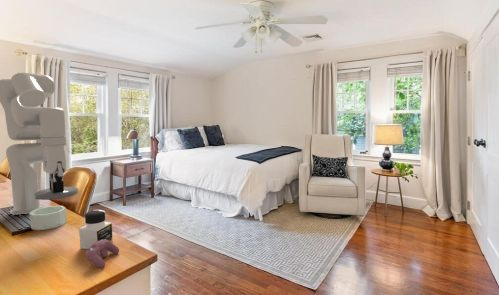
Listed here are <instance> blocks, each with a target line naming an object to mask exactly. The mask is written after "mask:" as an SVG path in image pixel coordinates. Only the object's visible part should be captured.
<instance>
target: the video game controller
mask: <svg viewBox="0 0 499 295" xmlns="http://www.w3.org/2000/svg"><path fill="white" fill-rule="evenodd" d="M108 252H110V253H112V254H115V253H117V254H118V253H120V249H119V247H118V246H117V245H116V244H114V243H113V242H110V241H109V240H106V239H104V240H99V241H97V242H95V243H94V244H92V245H91V247H90V248H89V249H86V252H85V258H86V260H87V261H88V262H90V263H91V264H93V265H94V266H95V267H98V268H104V267H105V266H106V263H105V261H104V260H103V258H106V257H107V256H108V255H109V253H108Z"/></svg>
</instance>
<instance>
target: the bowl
mask: <svg viewBox="0 0 499 295" xmlns="http://www.w3.org/2000/svg"><path fill="white" fill-rule="evenodd" d="M28 215H29V224H30V228H31V230H33V231H45V230H46V231H47V230H52V229H56V228H59V227H61V226H63V225H65V224H66V223H67V219H68V218H67V208H66V207H65V206H64V205H50V206H44V207H43V208H38V209H36V210H34V211H32V212H29V214H28Z"/></svg>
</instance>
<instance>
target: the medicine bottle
mask: <svg viewBox="0 0 499 295" xmlns="http://www.w3.org/2000/svg"><path fill="white" fill-rule="evenodd" d="M84 219H85V220H84V222H85V225H84V226H81V227H79V228H78V230H79V231H78V233H79V249H84V250H88V249H89V248H90V247H91V245H92V244H94V243H95V242H97V241H99V240H104V239H106V240H109V241H110V242H111V243H113V240H114V239H113V226H112V225H113V224H112V222H109V221H106V211H105V210H102V209H93V210H90V211H87V212H86V213H85V214H84Z"/></svg>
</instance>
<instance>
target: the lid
mask: <svg viewBox="0 0 499 295" xmlns="http://www.w3.org/2000/svg"><path fill="white" fill-rule="evenodd" d="M53 182H54V181H53V178H52V179H51V190H52V191H50V187H49V188H45V189H41V190H39V191H38V192H36V193H35V194H34V196H35V199H39V200H40V201H47V200H48V201H50V200H59V199H65V198H69V197H73V196H75V195H77V194H78V193H79V188H78V187H75V186H64V191H63V192H58V193H53Z"/></svg>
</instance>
